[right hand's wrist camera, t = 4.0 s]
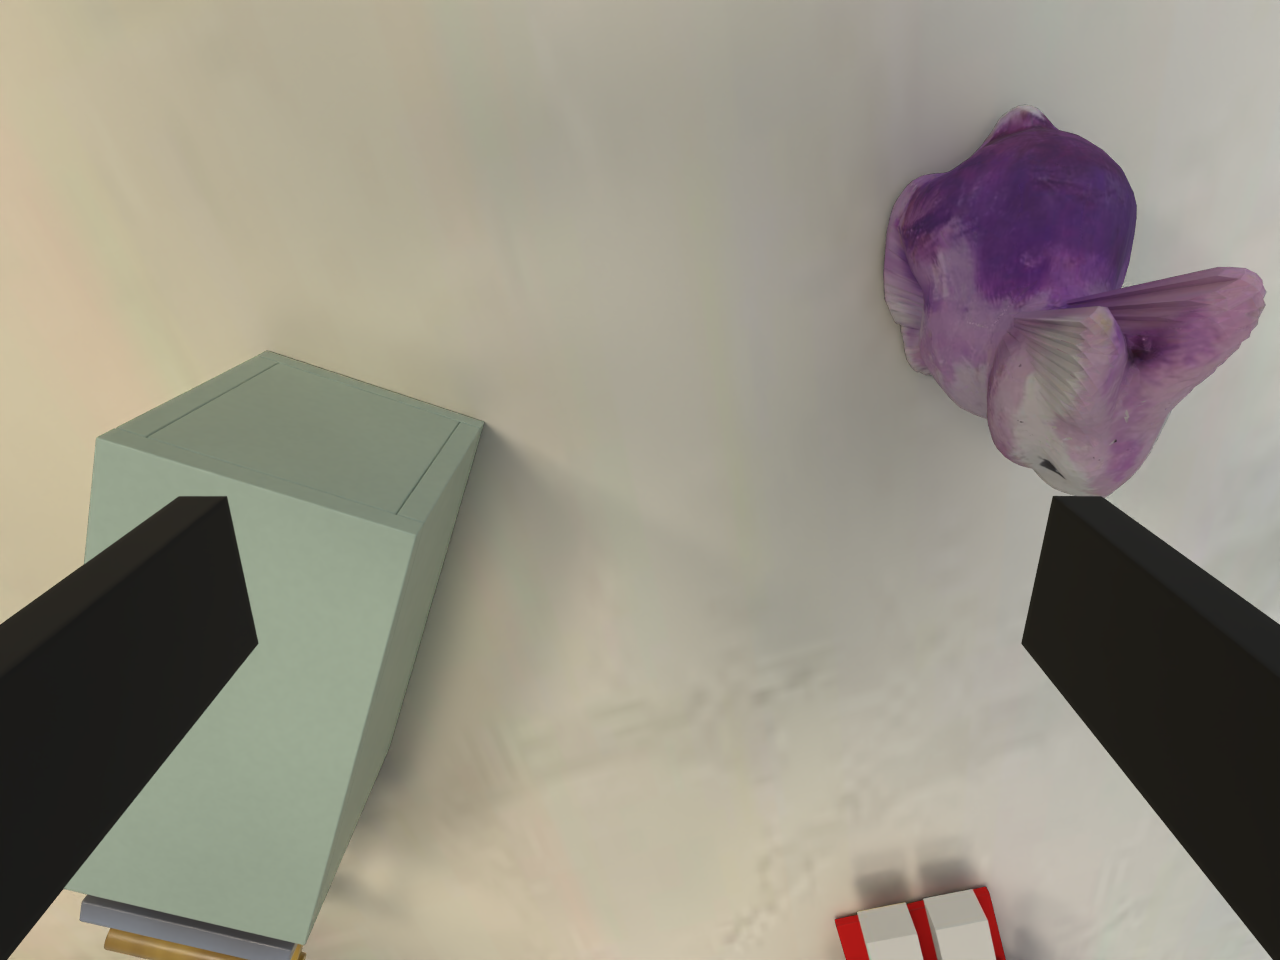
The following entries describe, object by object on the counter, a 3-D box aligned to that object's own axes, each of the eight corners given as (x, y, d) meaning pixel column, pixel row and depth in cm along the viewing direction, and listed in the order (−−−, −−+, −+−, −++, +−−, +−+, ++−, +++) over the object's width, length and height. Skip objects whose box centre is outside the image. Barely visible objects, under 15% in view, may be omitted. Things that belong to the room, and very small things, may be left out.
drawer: (341, 874, 45) (266, 1054, 36) (184, 835, 44) (65, 1010, 35) (445, 509, 36) (380, 625, 27) (252, 449, 35) (118, 548, 26)
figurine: (951, 431, 36) (1150, 603, 22) (814, 259, 33) (942, 331, 19) (1138, 289, 33) (1494, 381, 19) (1008, 91, 30) (1318, 32, 17)
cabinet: (390, 746, 43) (304, 946, 32) (206, 697, 41) (52, 887, 31) (484, 421, 36) (416, 535, 25) (266, 350, 34) (95, 437, 24)
